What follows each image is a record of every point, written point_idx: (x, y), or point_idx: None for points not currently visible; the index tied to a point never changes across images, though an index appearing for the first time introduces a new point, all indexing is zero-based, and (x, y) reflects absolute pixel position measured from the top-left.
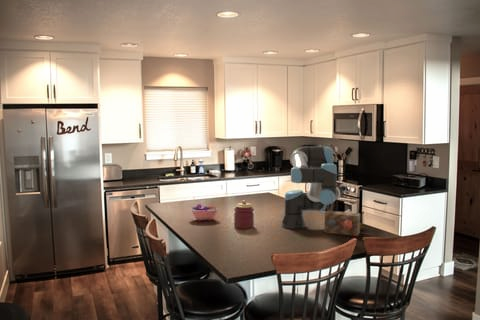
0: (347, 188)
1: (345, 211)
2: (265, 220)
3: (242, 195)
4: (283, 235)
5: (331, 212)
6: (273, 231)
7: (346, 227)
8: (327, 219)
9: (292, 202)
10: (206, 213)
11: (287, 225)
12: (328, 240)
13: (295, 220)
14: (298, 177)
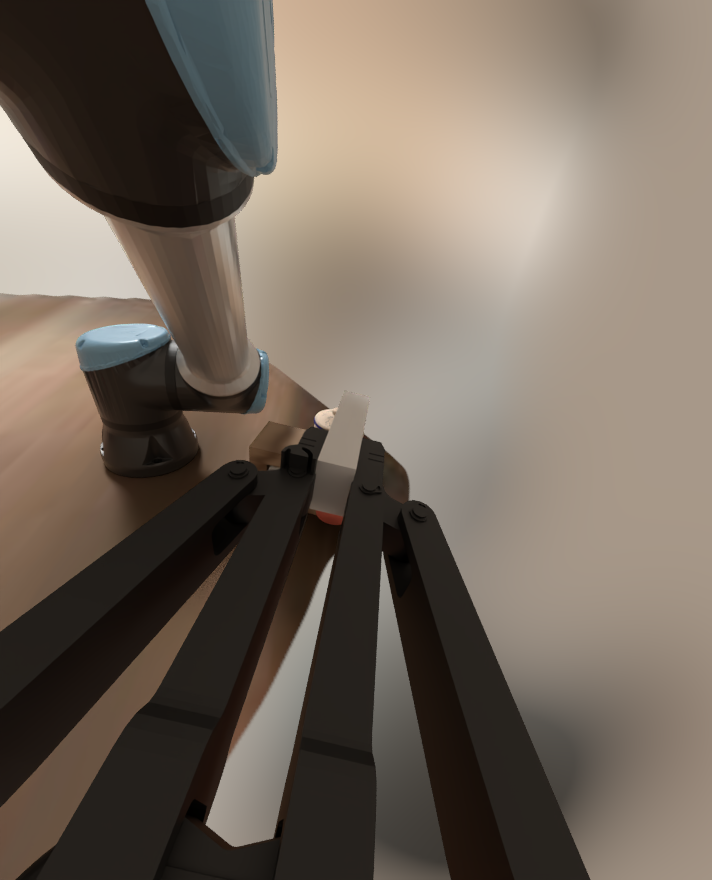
0: (578, 864)
1: (327, 414)
2: (78, 406)
3: (130, 298)
4: (28, 566)
5: (278, 439)
6: (16, 511)
7: (327, 518)
8: (260, 467)
9: (108, 385)
10: None
11: (111, 464)
12: None
13: (141, 450)
14: None
